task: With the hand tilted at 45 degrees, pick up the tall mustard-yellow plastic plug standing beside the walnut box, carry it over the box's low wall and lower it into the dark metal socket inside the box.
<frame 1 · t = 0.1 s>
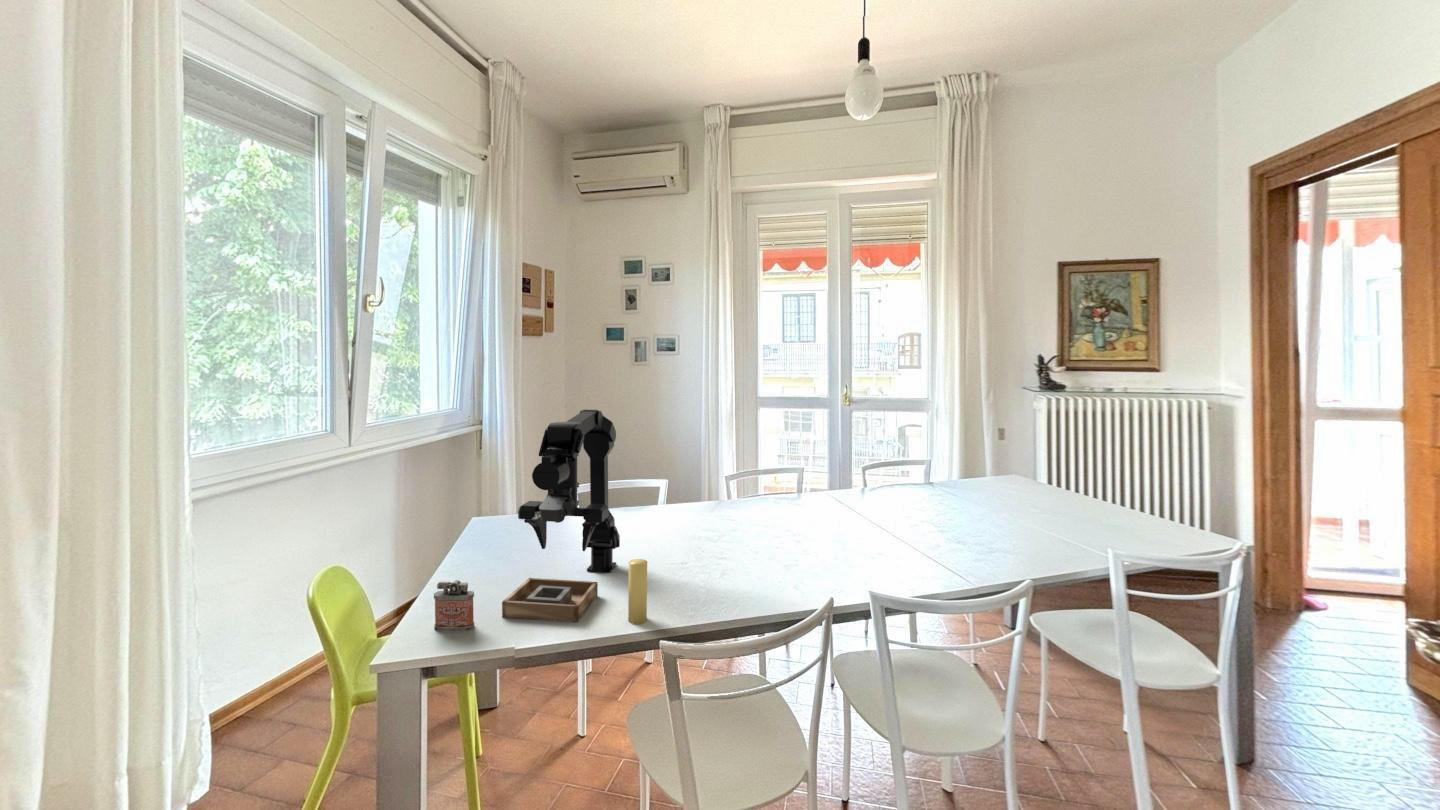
hand: (563, 549, 128), 15 cm above the table, tool pointing down, fingers open, 9 cm apart
plug: (637, 619, 127), on the table
walled box: (552, 606, 133), on the table
lighter: (454, 628, 122), on the table
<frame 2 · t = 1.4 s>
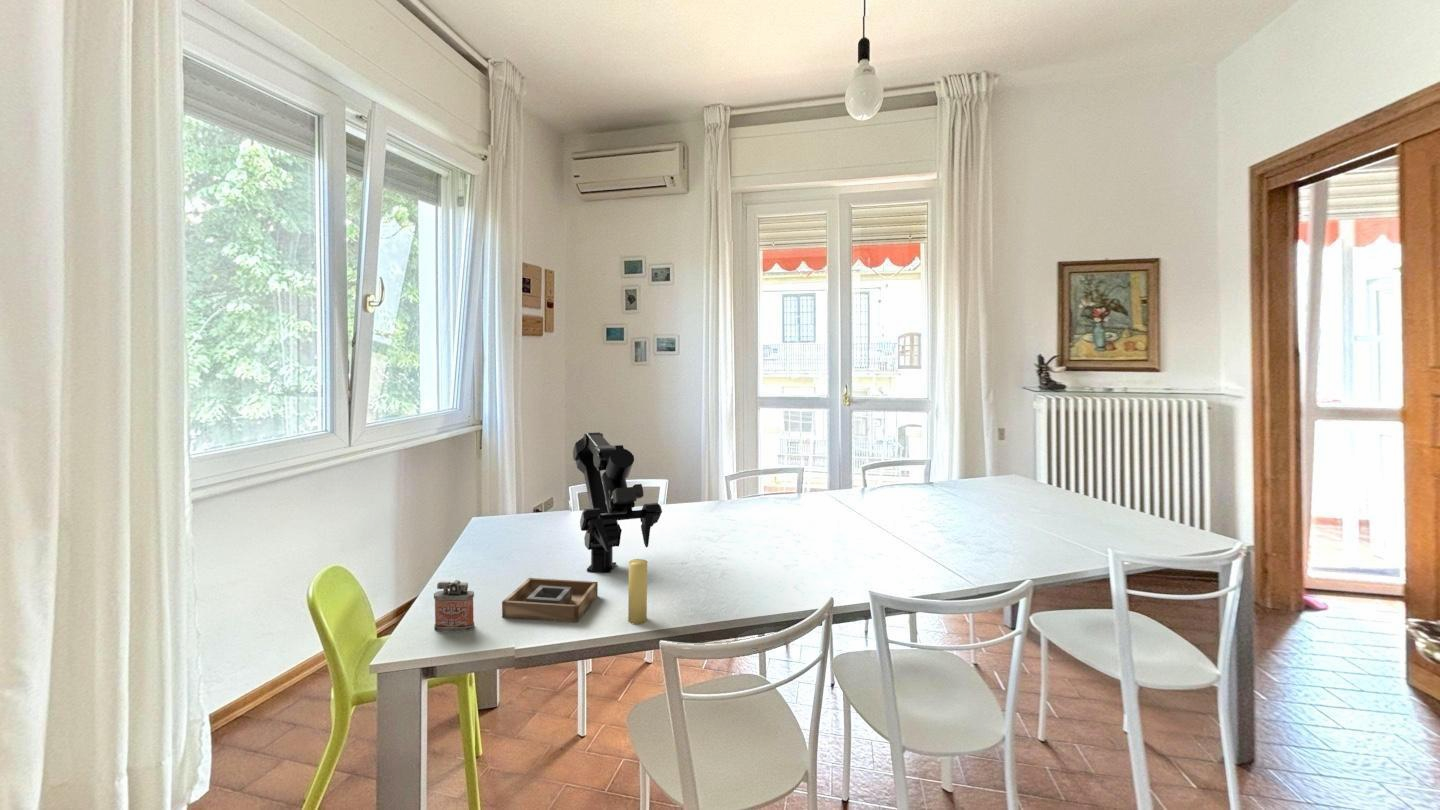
hand: (627, 548, 133), 13 cm above the table, tool tilted 45°, fingers open, 9 cm apart
nothing on the table moved.
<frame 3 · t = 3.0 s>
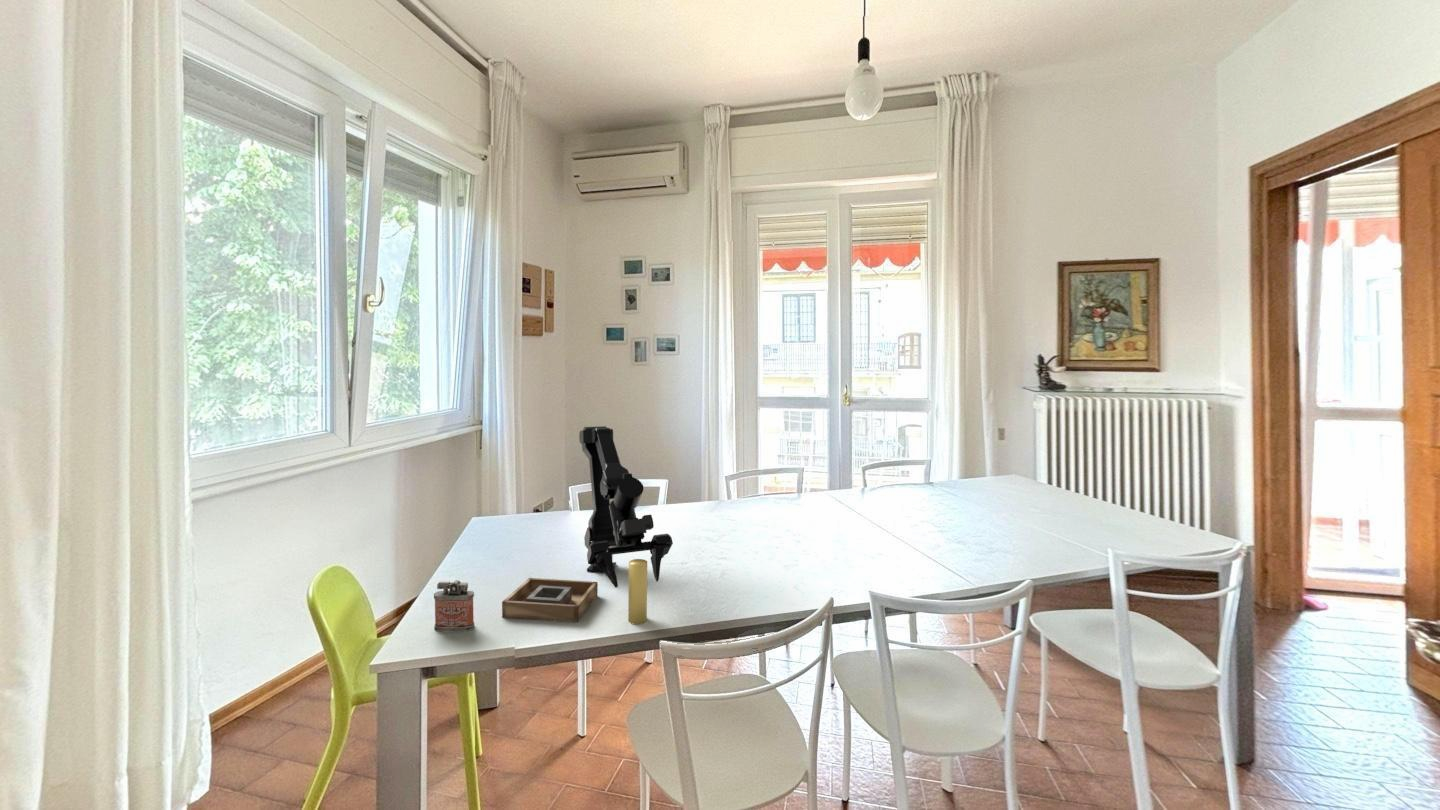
hand: (637, 583, 127), 8 cm above the table, tool tilted 45°, fingers open, 9 cm apart
nothing on the table moved.
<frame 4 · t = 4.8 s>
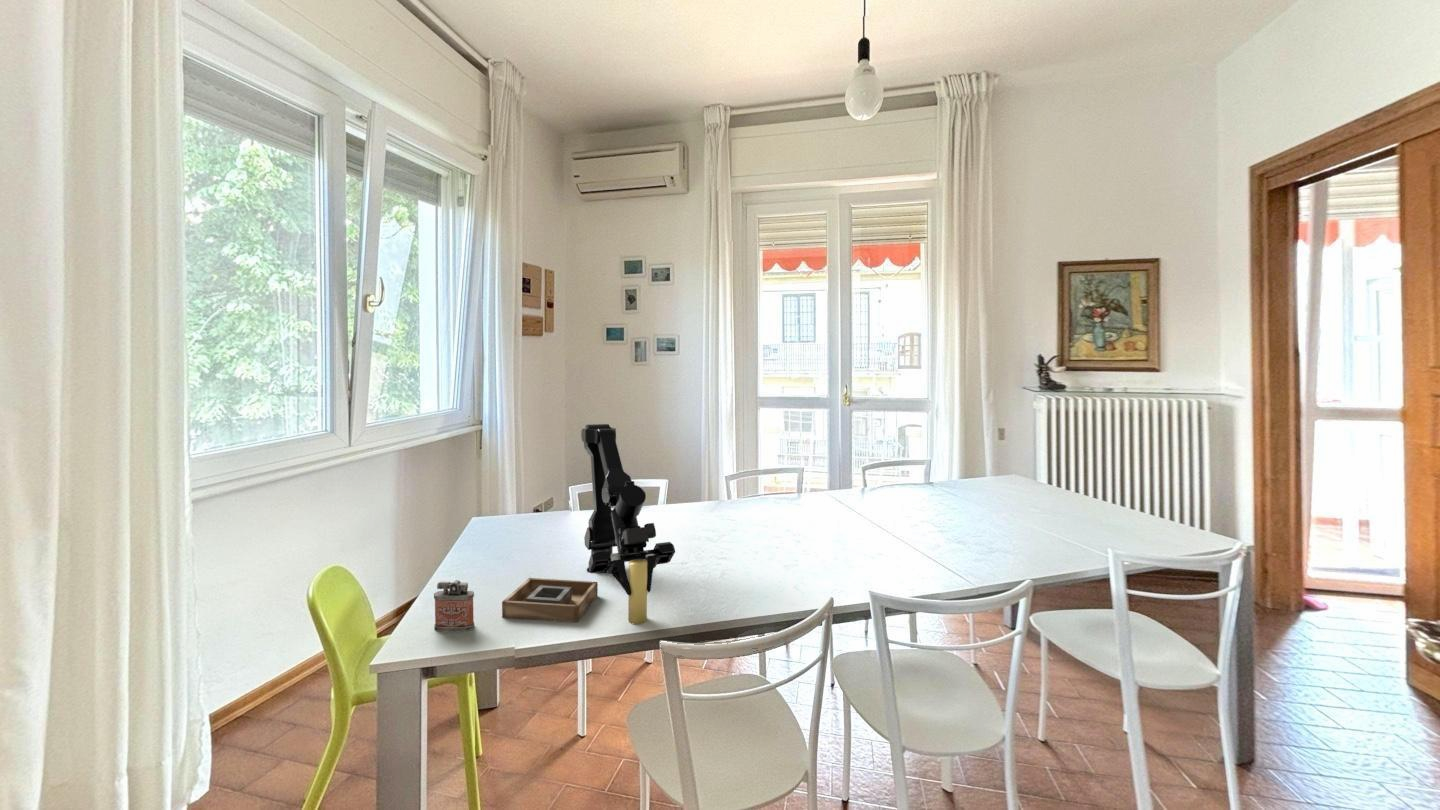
hand: (639, 593, 125), 7 cm above the table, tool tilted 45°, fingers closed on plug, 4 cm apart
plug: (637, 619, 127), on the table, touching gripper
everything else where it was.
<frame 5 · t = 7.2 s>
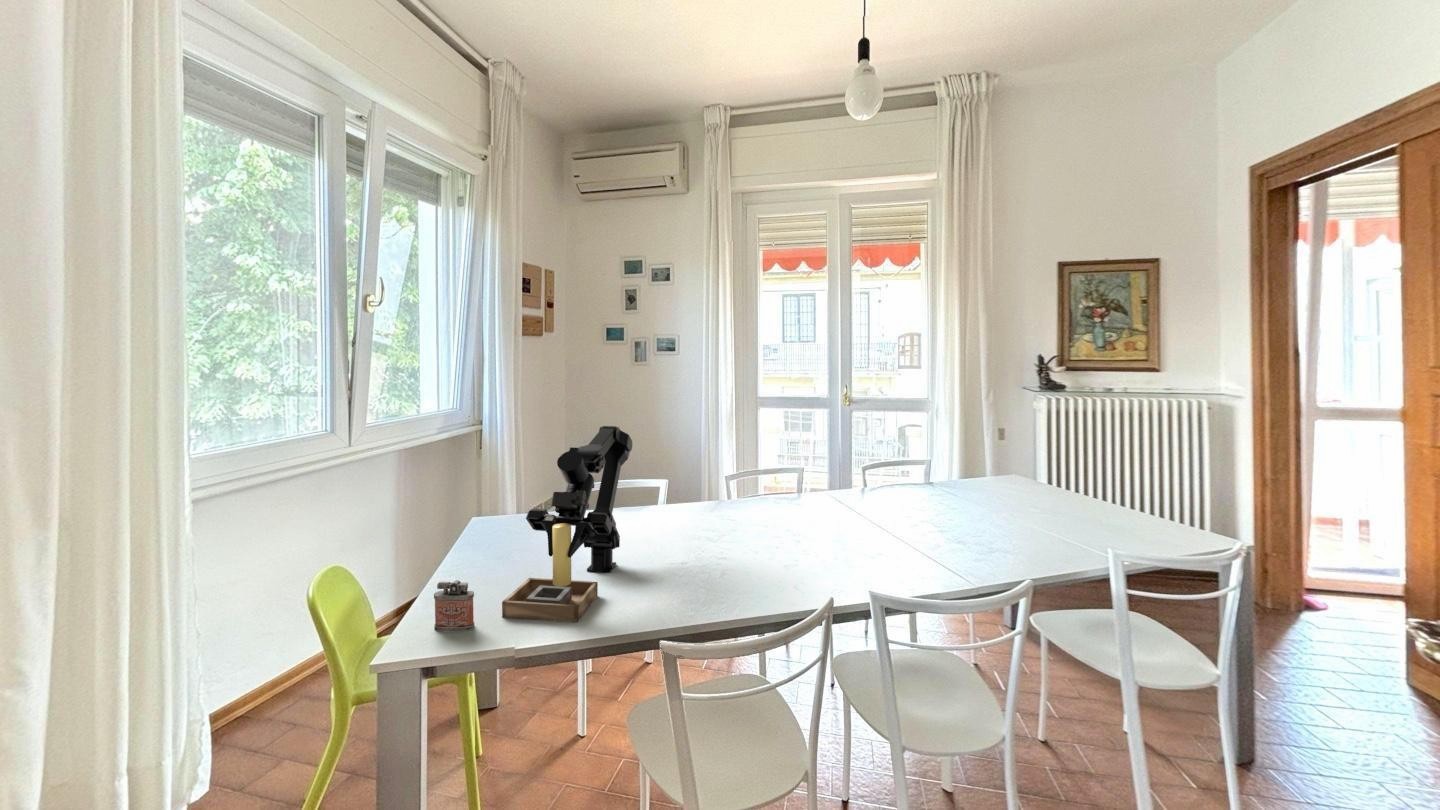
hand: (559, 556, 127), 13 cm above the table, tool tilted 45°, fingers closed on plug, 4 cm apart
plug: (562, 582, 129), point 7 cm above the table, touching gripper
everything else where it was.
when the fingers open (8 cm above the table, at t = 9.6 s): plug stays where it is, resting on walled box.
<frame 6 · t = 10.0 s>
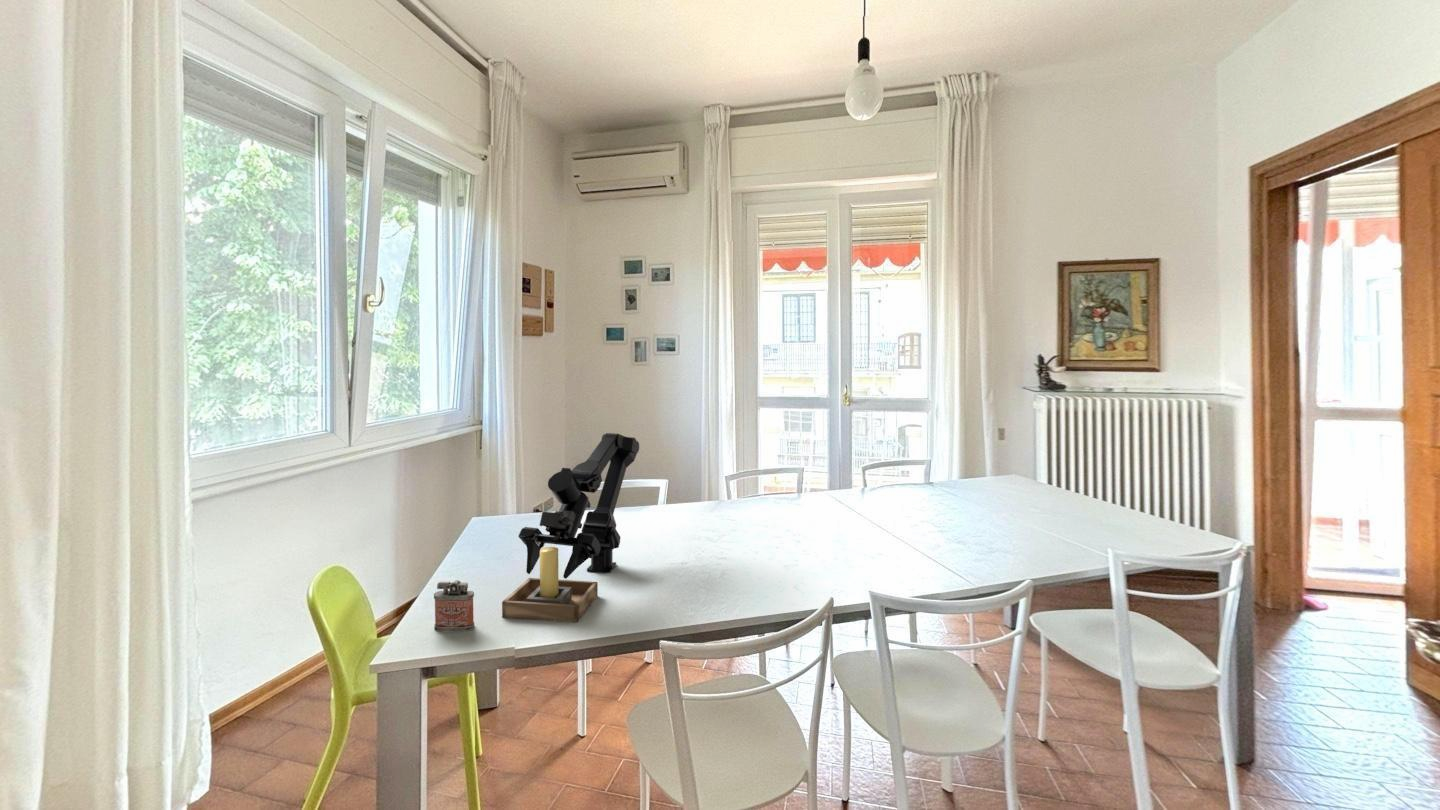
hand: (546, 575, 130), 8 cm above the table, tool tilted 45°, fingers open, 9 cm apart
plug: (549, 605, 132), point 1 cm above the table, touching walled box
everything else where it was.
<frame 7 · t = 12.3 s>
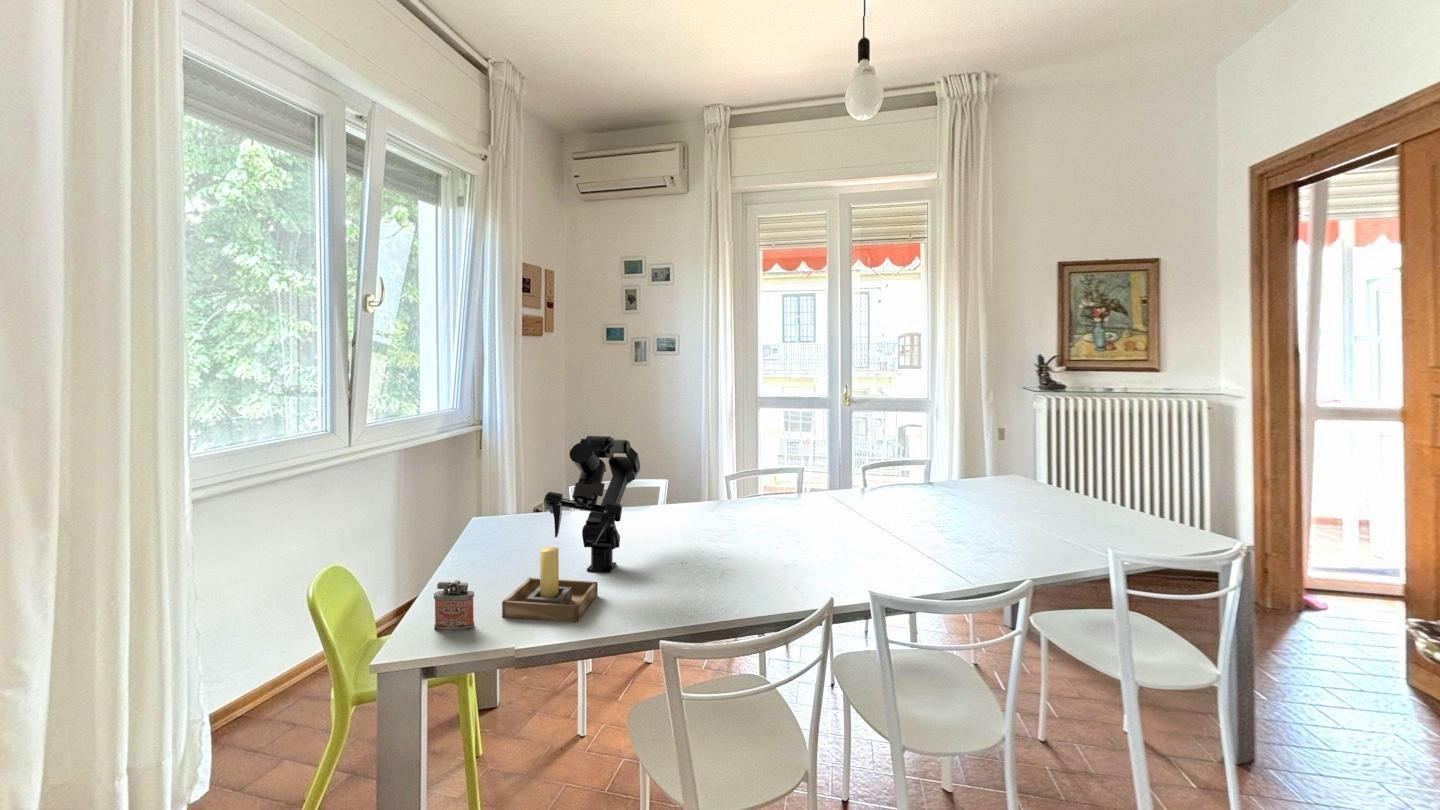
hand: (575, 540, 139), 13 cm above the table, tool tilted 35°, fingers open, 9 cm apart
nothing on the table moved.
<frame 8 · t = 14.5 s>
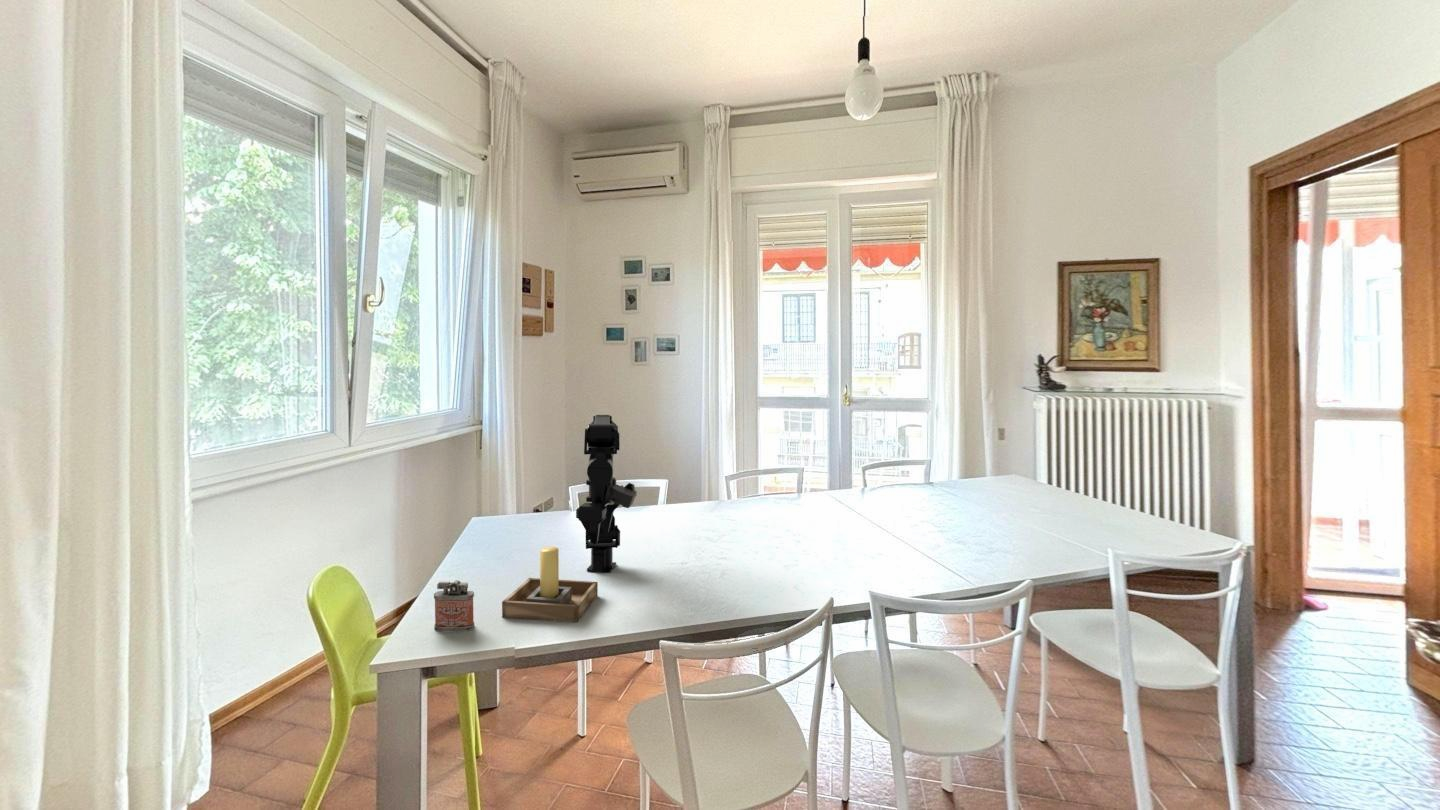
hand: (600, 538, 142), 13 cm above the table, tool pointing down, fingers open, 9 cm apart
nothing on the table moved.
at the end: plug 0.0 cm from the target spot on the walled box, point 0.8 cm above the walled box's base; plug tilted 0°; the gripper is holding nothing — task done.
